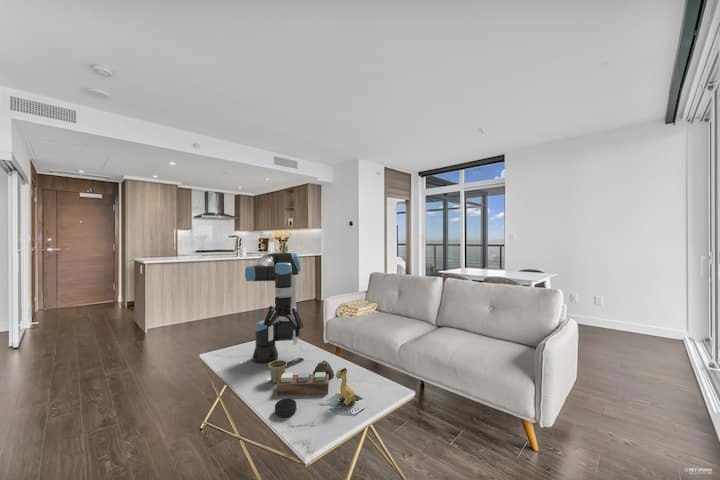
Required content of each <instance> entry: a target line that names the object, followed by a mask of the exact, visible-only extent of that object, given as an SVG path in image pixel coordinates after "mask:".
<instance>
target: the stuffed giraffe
mask: <svg viewBox="0 0 720 480" xmlns="http://www.w3.org/2000/svg"><path fill="white" fill-rule="evenodd" d="M347 373H348V369H347V368H346V367H344V368H339V369H338V370H337V371H336V375H335V376H336V378H337V379H338V380H339V379H341V383H340V387H339V388H340V390H339V391H340V393H336V394H334V395H332V396H331V397H330V398H327V399H326V400H325V401H326V402H329V403H319V405H320V406H321V407H322V406H324V407H328V406H329V407H330V408H329V410H330V411H331V412H334V413H336V414H339V415H340V416H342V417H344V416H345V417H351V416H353V415H355V416H356V415H357V414H352V413H351V410H350V409H351V408H344V407H349V406H350V405H353V403H354V404H355V403H356V402H355V401H359V400H362V399H364V397H361V396H359V395H356V394H355V391H354V390H353V389H351V387H349V386H348V385H347ZM350 403H352V404H350ZM341 405H344V406H341ZM357 409H358V410H359V409H360V408H357ZM355 411H356V410H355ZM352 412H353V410H352ZM353 417H354V416H353Z"/></svg>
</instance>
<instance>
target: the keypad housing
mask: <svg viewBox="0 0 720 480" xmlns="http://www.w3.org/2000/svg"><path fill="white" fill-rule="evenodd" d="M298 376H299V374H293V380H292V382H281V377H282V375H281V376H280V378H279V381H278V382H276V396H285V395H286V396H288V395H290V396H291V395H292V396H293V395H294V396H295V395H322V394H323V395H325V394H329V388H330V387H329V385H330V383H329V381H330V379H329V374H326V378H325V381H315V374H313V373H311V374H310V373H309V381H308V382H298Z"/></svg>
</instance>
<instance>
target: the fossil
mask: <svg viewBox="0 0 720 480" xmlns="http://www.w3.org/2000/svg"><path fill="white" fill-rule="evenodd" d="M315 372H326V374H329V380H330V379H331V380H332V378H334V377H335V373H334V370H333V368H332V366H331V364H330V363H329V361H327V360H325V359H324V360H321V362H318V363H317V365H316V366H315V368H314V370H313V372H312V374H315Z"/></svg>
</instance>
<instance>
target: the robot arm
mask: <svg viewBox="0 0 720 480" xmlns="http://www.w3.org/2000/svg"><path fill="white" fill-rule="evenodd" d="M301 270H302V269H301V262H300V255H299V253H297V252H272V253H267V254H264V255H263V256H261V257H259V259H257V262H256V264H255V265H247V266H245V270H244V277H245V281H246V282H274V285H275V286H274V296H275V297H274V305H273V304H272V305H270V306H269V307H268V312H267V314H266V317H265V318H264V319H262V320H260V321H258V322H256V324H255V331H254V332H255V346H254V347H255V348H254V351H253V354H252V357H251V358H252V359H251V360H252V362H254V363H256V364H269V363H270V362H272V361H276V360H279V352H278V349H277V344H276V342H284V341H288V342H289V341H292V342H293V343H292V345H297V344H298V343H299V338H300V330H301V329H303V328H304V324H303V322H302V319H301V317H300V315H299V312H298V311H299V310H298V306H297V277H298V275H299V273H300V272H301ZM274 312H275V313H274ZM277 318H278V321H276V320H277Z"/></svg>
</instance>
